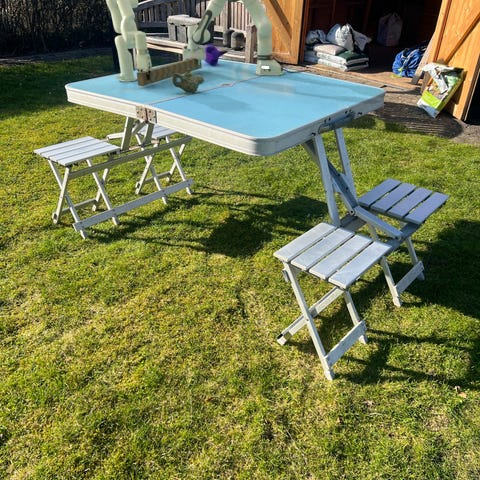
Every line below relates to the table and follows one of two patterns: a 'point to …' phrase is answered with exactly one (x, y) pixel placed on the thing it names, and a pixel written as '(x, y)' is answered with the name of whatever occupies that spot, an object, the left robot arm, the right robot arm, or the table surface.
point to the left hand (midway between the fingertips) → (145, 79)
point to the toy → (213, 55)
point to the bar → (167, 71)
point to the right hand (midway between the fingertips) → (195, 64)
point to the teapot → (188, 81)
